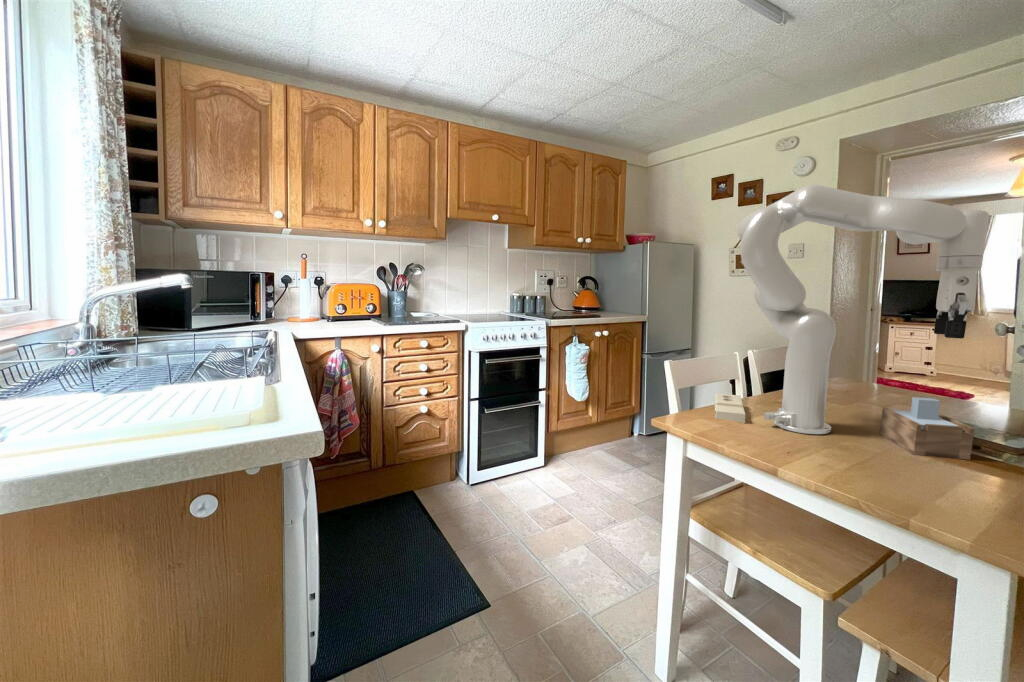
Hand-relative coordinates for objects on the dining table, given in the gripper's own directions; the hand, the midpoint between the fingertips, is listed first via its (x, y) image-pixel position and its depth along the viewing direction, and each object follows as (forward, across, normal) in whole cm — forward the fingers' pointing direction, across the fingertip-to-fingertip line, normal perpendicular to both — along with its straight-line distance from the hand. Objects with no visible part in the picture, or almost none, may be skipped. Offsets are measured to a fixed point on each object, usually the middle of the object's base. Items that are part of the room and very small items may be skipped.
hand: (948, 336), depth 104 cm
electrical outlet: (+27, -7, +46) cm, 53 cm away
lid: (+20, -11, +4) cm, 23 cm away
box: (+25, -11, +4) cm, 28 cm away
